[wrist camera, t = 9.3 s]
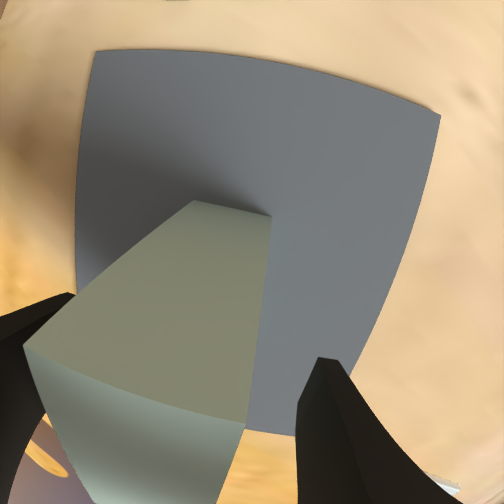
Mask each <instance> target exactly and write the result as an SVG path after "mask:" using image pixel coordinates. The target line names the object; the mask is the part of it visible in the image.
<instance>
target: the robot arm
mask: <svg viewBox="0 0 504 504" xmlns="http://www.w3.org/2000/svg"><path fill="white" fill-rule="evenodd" d="M74 296H76V295H74V294H71V293H69V292H66V293H63V294H59V295H56V296H53V297H51V298H48V299H45V300H43V301H40V302H37V303H35V304H32V305H30V306H27V307H25V308H22V309H19V310H17V311H14V312H12V313H9V314H6V315H4V316H1V317H0V504H7V503H8V499H9V495H10V491H11V487H12V484H13V481H14V478H15V474H16V472H17V469H18V466H19V464H20V461H21V458H22V456H23V454H24V451H25V449H26V447H27V445H28V443H29V441H30V439H31V436H32V435H33V432H34V430H35V429H36V427H37V425H38V424H39V422H40V420H41V419H42V417H43V416H44V414H45V413H46V410H45V408H44V406H43V403H42V401H41V398H40V395H39V393H38V390H37V388H36V385H35V382H34V379H33V376H32V373H31V370H30V367H29V364H28V361H27V358H26V355H25V351H24V348H23V344H24V343H25V342H26V341H27V340H29V339H30V338H31V337H32V336H33V335H34V334H35V333H36V332H37V331H38V330H39V329H40V328H41V327H42V326H43V325H44V324H45V323H46V322H47V321H48V320H49V319H50V318H51V317H53V316H54V315H55V314H56V313H57V312H58V311H59V310H60V309H61V308H62V307H63V306H64V305H66V304H67V303H68V302H69V301H70V300H71V299H72V298H73V297H74ZM295 440H296V462H297V484H298V504H463V503H461V502H460V501H458V500H457V499H456V498H454V497H453V496H452V495H450V494H449V493H448V492H446V491H445V490H444V489H443V488H441V487H440V486H439V485H438V484H437V483H436V482H434V481H433V480H432V479H431V478H430V477H429V476H427V475H426V474H425V473H424V472H423V471H422V470H421V469H420V468H419V467H418V466H417V465H416V464H415V463H414V462H413V461H412V460H411V458H410V457H409V456H408V455H407V454H406V453H405V452H404V451H403V450H402V449H401V448H400V446H399V445H398V444H397V443H396V442H395V441H394V439H393V438H392V437H391V435H390V434H389V433H388V432H387V430H386V429H385V428H384V427H383V425H382V424H381V423H380V421H379V420H378V419H377V417H376V416H375V414H374V413H373V412H372V410H371V409H370V407H369V406H368V404H367V403H366V402H365V400H364V399H363V397H362V396H361V394H360V393H359V391H358V390H357V388H356V386H355V385H354V383H353V382H352V380H351V379H350V377H349V376H348V374H347V373H346V371H345V369H344V368H343V366H342V365H341V363H340V362H339V361H338V360H336V359H329V358H323V357H318V358H317V360H316V363H315V365H314V367H313V370H312V372H311V374H310V376H309V379H308V381H307V383H306V385H305V387H304V390H303V392H302V394H301V396H300V398H299V400H298V402H297V414H296V427H295Z"/></svg>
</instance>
